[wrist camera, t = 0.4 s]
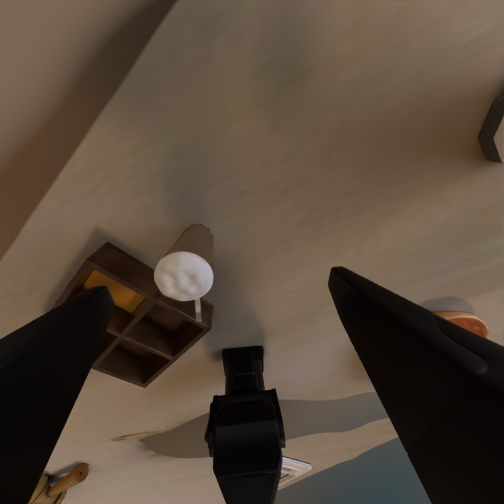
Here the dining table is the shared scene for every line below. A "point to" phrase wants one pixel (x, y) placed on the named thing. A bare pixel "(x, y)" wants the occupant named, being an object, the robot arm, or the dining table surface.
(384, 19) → the dining table surface
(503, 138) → the wine bottle
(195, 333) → the organiser
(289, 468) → the photo frame
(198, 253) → the milkshake
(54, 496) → the kendama
